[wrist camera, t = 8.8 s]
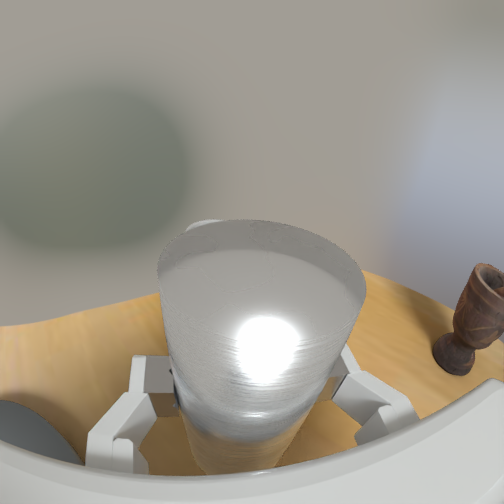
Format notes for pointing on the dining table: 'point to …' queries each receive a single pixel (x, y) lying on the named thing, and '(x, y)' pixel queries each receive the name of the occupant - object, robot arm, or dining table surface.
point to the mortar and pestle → (473, 320)
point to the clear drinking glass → (253, 334)
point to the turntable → (34, 433)
